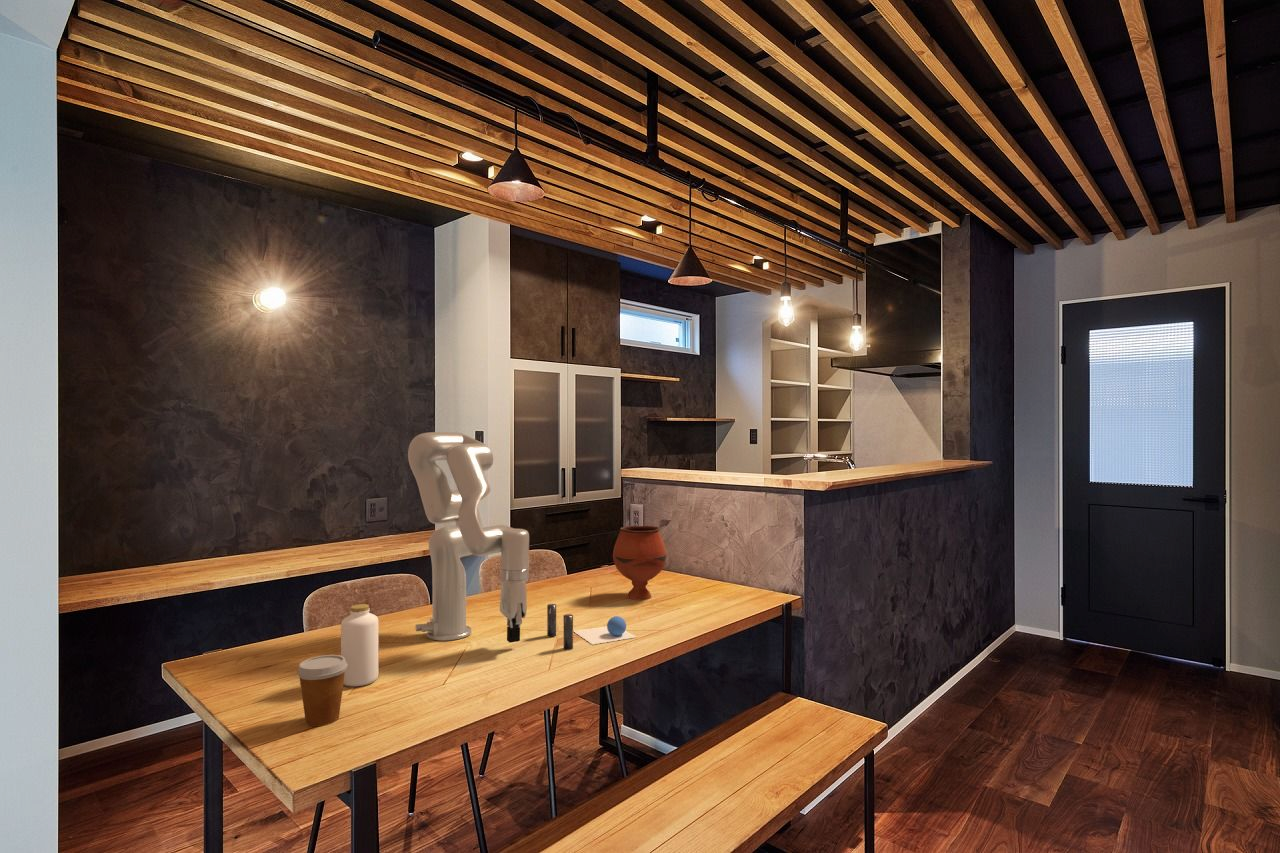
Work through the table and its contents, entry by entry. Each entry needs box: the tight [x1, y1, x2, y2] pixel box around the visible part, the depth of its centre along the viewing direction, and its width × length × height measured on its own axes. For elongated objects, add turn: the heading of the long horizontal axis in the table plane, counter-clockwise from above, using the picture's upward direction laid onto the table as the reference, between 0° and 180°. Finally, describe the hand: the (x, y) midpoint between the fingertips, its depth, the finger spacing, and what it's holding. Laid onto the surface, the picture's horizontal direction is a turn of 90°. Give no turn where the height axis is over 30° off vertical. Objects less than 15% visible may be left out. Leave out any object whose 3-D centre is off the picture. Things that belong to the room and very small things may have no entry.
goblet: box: [612, 525, 667, 601], centre depth 240 cm, size 19×19×25 cm
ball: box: [606, 615, 627, 636], centre depth 195 cm, size 6×6×6 cm
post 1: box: [546, 603, 557, 638], centre depth 195 cm, size 3×3×9 cm
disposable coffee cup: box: [296, 654, 348, 727], centre depth 139 cm, size 10×10×12 cm
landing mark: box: [573, 625, 638, 646], centre depth 196 cm, size 14×14×1 cm
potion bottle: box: [340, 603, 379, 688], centre depth 160 cm, size 8×8×18 cm
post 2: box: [563, 613, 574, 651], centre depth 183 cm, size 3×3×9 cm
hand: (513, 640), depth 183 cm, fingers closed
